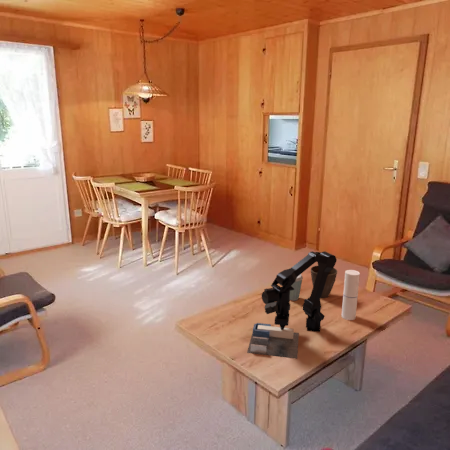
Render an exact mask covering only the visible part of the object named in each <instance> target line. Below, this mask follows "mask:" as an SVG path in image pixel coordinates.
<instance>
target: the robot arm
mask: <svg viewBox="0 0 450 450" xmlns="http://www.w3.org/2000/svg"><path fill="white" fill-rule="evenodd" d="M316 263H317V266H318V268H319V270H318V273H317V276H316V279H315V283H314V286H313V285H312V289H311V293H310V296H308V298H305V299H304V301H303V304H302V306H301V307H302V310H303V312H304V314H305V315H306V316H307V317H306V319H305V320H306V321H305V328H306V331H308V332H318V333H320V332H321V322H322V321H323V320H324V319H325V315H324V314H323V313H322V312H321V310H322V304H321V303H322V302H321V299H322V298H321V295H322V292H323V289H324V286H325V283H326V280H327V276H328V273H329V272H330V271H331V270H332V269H333V268H334V267H335V266H336V263H337V257H336V255H334V254H332V253H330V252H328V251H326V250H325V251H321V252H320V251H310V252H308V254H307V255H306V256H304V257H303V258H301V259H300V260H299V261H298V262H297V263H295V264H294V265H293V266H291V267H290V268H288V269H287V268H286V269H284V270H282V271H280V272H278V273H277V274H276V277H275V279H274V281H273V282H272V283H271V285H270V286H271V287H269V288H264V291H262V292H261V300H262V302H263V304H265V305H264V312H265V313H266V315H270V314H273V313H275V315H276V316H275V317H274V325H276V326H277V325H278V326H279V327H280V328H281V330H283V329H284V328H286V326H287V327H288V326H289V323H290V322H289V321H290V310H291V302H290V301H291V300H290V291H291V290H294V288H293V287H292V284H293V283H294V282H295V281H296V278H297V277H298V276H299V275H300V274H301V275H302V274H303V273H304V272H305V271H306V270H307V269H309V268H310V267H311V266H314V264H316Z"/></svg>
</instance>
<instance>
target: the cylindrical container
mask: <svg viewBox="0 0 450 450" xmlns="http://www.w3.org/2000/svg"><path fill="white" fill-rule="evenodd" d="M360 277H361V273H360V271H358V270H355V269H346V270H345V271H344V279H343V280H344V282H343V294H342V304H341V305H342V306H341V315H340V316H341V318H342V319H344V320H347V321H354V320H356V318H357V317H356V315H357V306H358V298H359V297H358V294H359V286H360Z"/></svg>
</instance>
